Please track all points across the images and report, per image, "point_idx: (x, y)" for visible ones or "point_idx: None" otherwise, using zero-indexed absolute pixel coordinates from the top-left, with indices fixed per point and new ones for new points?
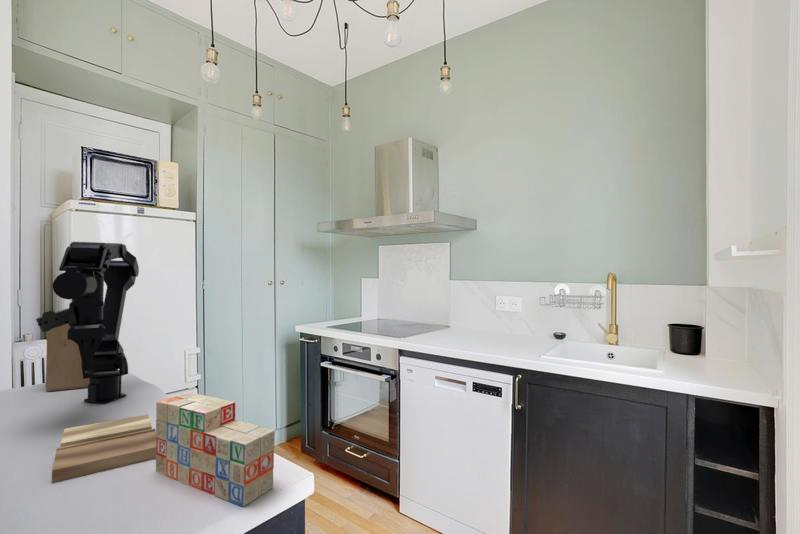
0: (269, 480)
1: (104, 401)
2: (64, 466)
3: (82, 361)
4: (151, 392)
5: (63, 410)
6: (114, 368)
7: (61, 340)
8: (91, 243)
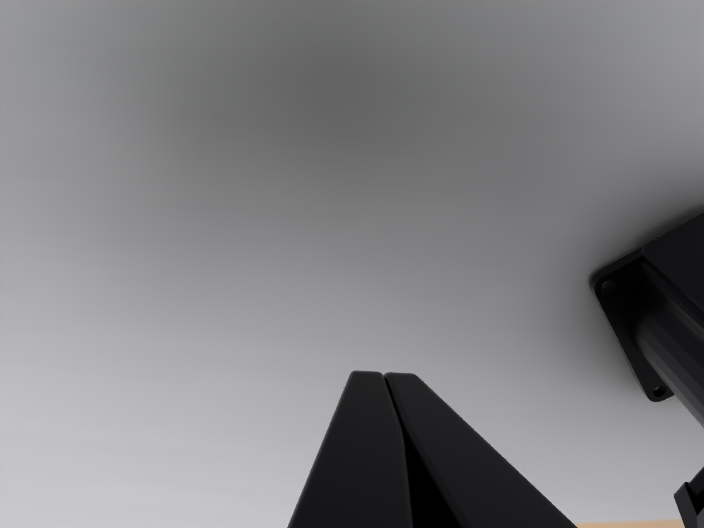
0: None
1: (600, 288)
2: None
3: (334, 418)
4: (607, 499)
5: (671, 48)
6: (699, 520)
7: None
8: None
